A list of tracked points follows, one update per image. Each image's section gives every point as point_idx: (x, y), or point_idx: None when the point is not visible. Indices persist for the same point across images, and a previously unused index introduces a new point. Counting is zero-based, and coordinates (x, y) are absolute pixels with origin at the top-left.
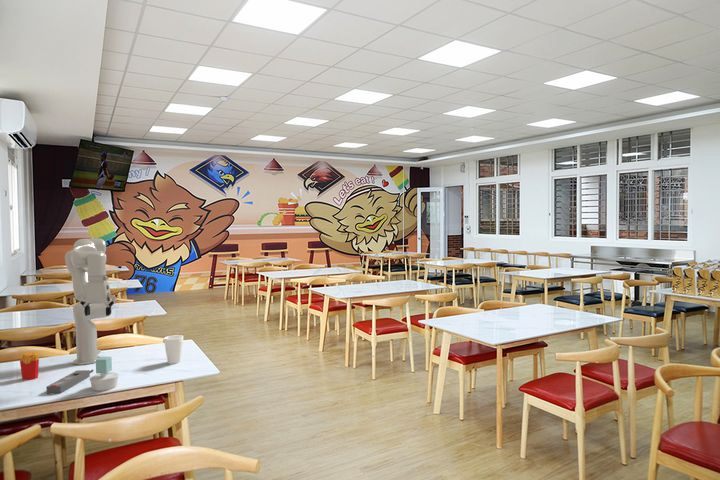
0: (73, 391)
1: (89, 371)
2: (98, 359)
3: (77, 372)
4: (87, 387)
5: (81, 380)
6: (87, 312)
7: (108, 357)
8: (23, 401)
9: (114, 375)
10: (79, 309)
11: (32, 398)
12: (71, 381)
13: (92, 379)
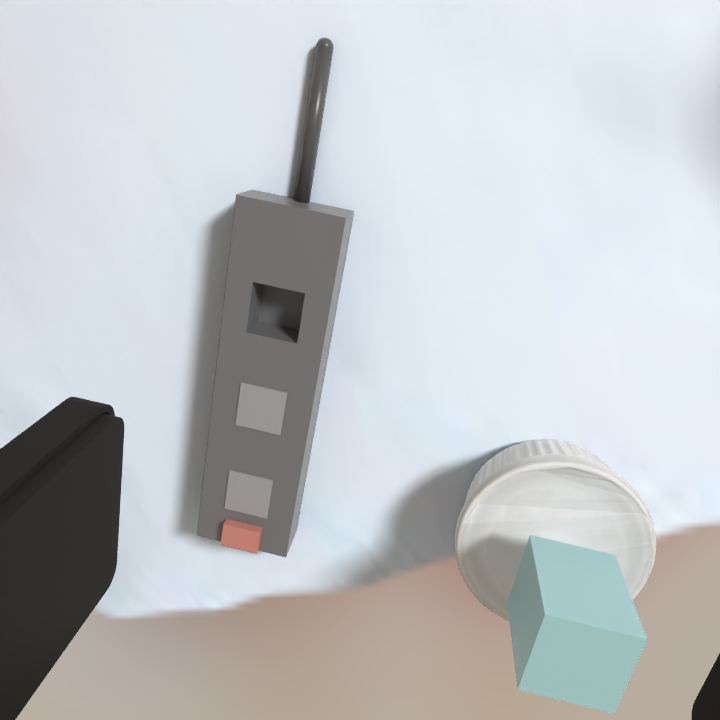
0: (360, 517)
1: (316, 107)
2: (541, 688)
3: (268, 259)
4: (424, 468)
5: (333, 323)
6: (69, 604)
7: (623, 656)
8: (150, 593)
9: (630, 558)
10: None
11: (173, 562)
12: (306, 449)
13: (486, 601)
